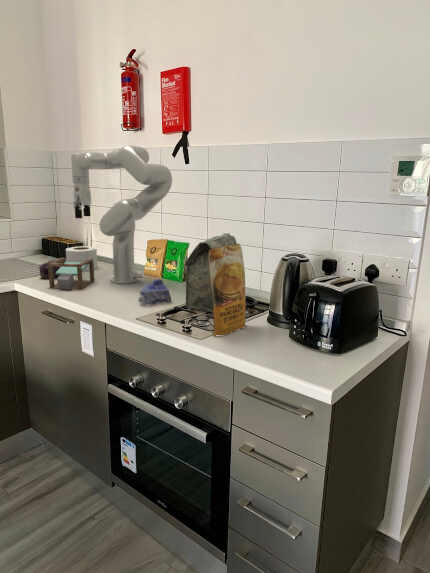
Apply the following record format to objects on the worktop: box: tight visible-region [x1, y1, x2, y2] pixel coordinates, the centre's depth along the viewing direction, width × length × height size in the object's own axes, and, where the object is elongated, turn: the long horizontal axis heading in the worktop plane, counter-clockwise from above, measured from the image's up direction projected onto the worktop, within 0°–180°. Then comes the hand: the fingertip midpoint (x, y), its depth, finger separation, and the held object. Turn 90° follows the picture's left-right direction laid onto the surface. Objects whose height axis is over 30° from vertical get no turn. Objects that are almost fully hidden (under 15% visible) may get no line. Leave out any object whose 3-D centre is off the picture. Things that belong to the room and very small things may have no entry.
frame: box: [48, 257, 95, 291], centre depth 196 cm, size 14×14×11 cm
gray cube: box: [56, 273, 75, 290], centre depth 190 cm, size 5×5×5 cm
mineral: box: [137, 278, 172, 306], centre depth 173 cm, size 14×10×10 cm
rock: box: [39, 258, 62, 279], centre depth 210 cm, size 12×9×10 cm
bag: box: [184, 232, 238, 314], centre depth 169 cm, size 22×16×27 cm
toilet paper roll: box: [65, 245, 99, 272], centre depth 230 cm, size 16×15×11 cm
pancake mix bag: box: [208, 243, 246, 337], centre depth 141 cm, size 7×19×28 cm, turn 138°
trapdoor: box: [56, 262, 88, 277], centre depth 196 cm, size 10×11×1 cm
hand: (83, 217), depth 209 cm, fingers open, 9 cm apart
